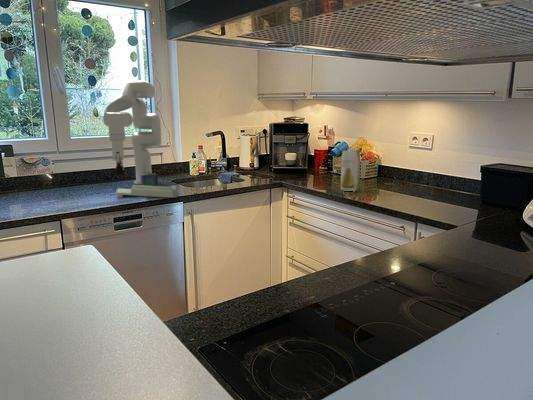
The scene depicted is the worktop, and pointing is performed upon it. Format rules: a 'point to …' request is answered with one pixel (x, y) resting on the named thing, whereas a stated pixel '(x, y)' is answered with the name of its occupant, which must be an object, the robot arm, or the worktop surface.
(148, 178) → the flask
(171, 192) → the lane
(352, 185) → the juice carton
